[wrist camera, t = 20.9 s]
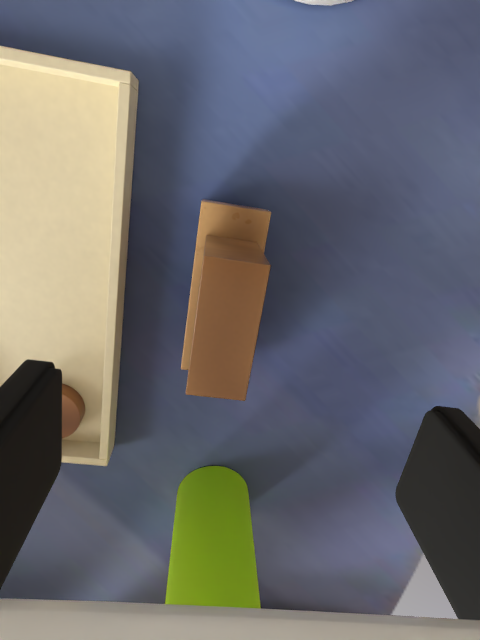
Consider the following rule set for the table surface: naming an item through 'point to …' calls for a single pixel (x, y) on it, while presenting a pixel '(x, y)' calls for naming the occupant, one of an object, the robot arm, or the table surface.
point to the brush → (225, 299)
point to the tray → (66, 229)
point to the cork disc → (71, 410)
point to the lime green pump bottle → (213, 542)
